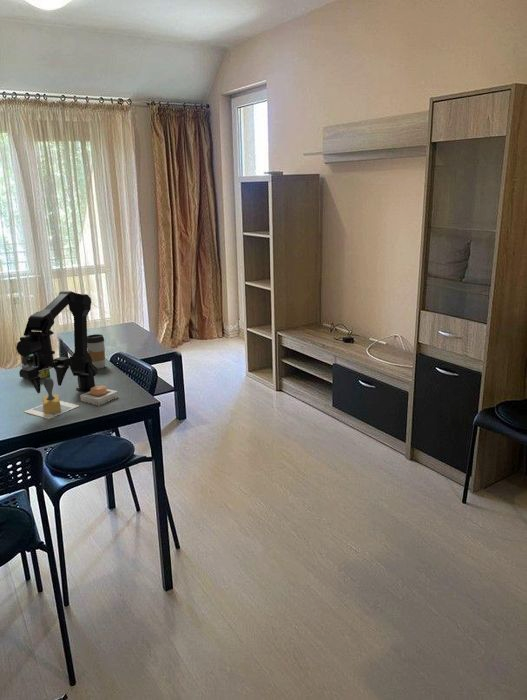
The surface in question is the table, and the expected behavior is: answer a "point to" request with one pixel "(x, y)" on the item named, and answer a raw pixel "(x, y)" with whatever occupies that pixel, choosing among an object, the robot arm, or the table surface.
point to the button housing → (101, 399)
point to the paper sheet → (40, 412)
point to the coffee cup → (96, 350)
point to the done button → (98, 391)
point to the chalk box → (41, 374)
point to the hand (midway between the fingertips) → (49, 389)
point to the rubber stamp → (50, 398)
